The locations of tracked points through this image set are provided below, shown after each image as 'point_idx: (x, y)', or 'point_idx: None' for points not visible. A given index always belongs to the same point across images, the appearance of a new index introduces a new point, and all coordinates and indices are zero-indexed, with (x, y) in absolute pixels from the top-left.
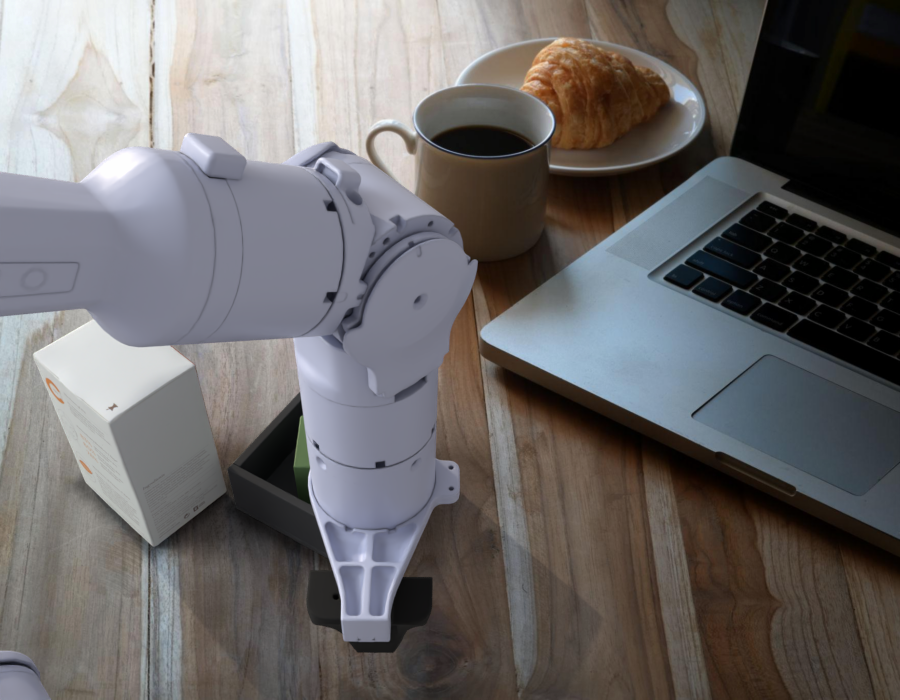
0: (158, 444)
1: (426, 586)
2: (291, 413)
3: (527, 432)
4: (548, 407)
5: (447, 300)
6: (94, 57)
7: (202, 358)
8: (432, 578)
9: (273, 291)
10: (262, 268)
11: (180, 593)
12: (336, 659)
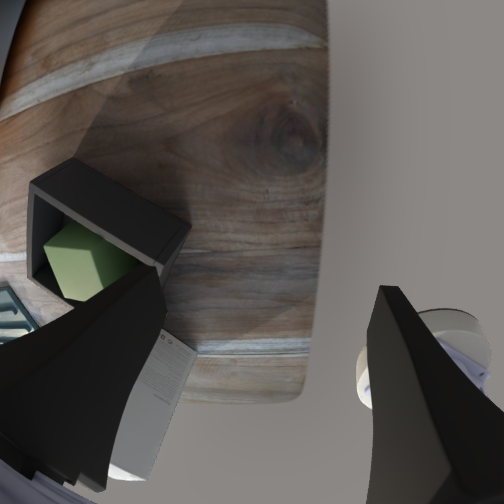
0: (138, 421)
1: (489, 499)
2: (66, 298)
3: (32, 68)
4: (12, 57)
5: None
6: None
7: None
8: (477, 499)
9: None
10: None
11: (231, 339)
12: (289, 233)
